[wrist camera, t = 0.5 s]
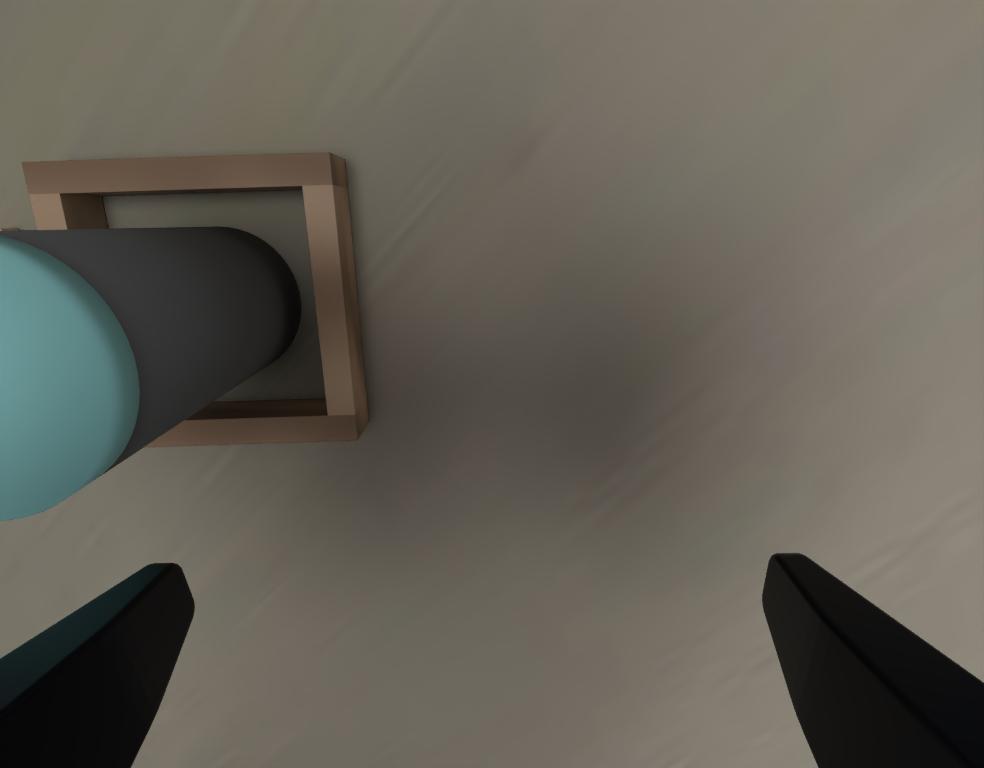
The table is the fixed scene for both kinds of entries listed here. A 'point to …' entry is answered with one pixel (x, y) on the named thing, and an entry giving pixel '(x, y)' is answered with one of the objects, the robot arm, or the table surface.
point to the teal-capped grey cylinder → (124, 344)
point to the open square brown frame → (322, 176)
